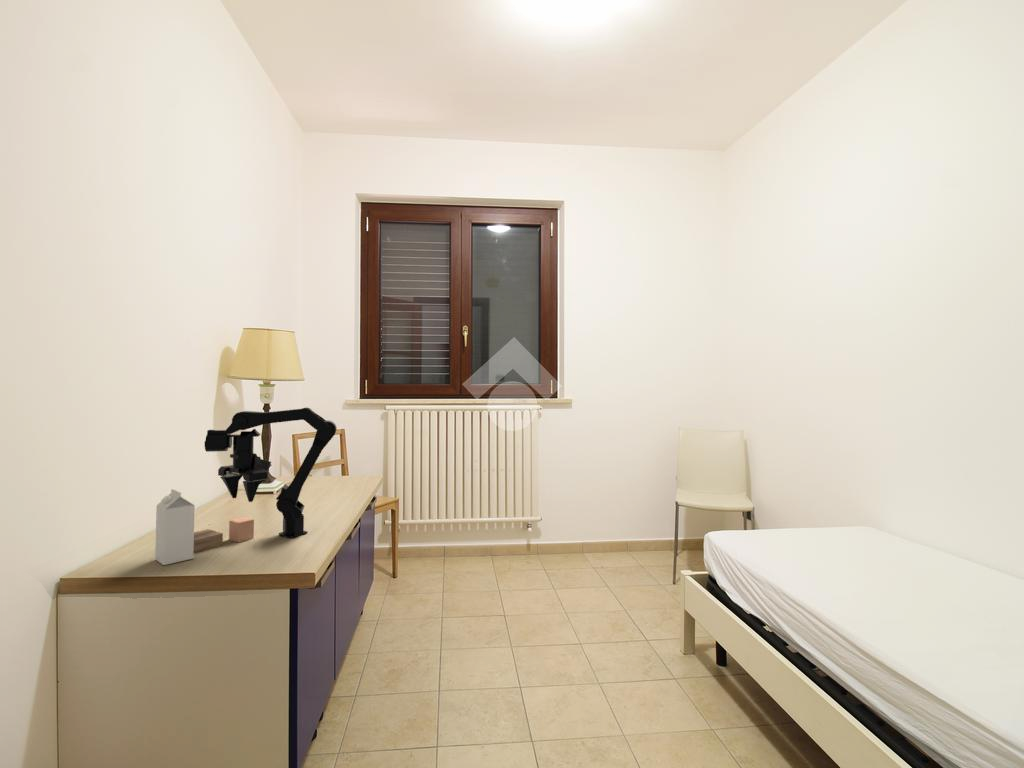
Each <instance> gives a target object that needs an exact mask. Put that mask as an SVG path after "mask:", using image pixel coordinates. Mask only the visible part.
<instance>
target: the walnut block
mask: <svg viewBox="0 0 1024 768" xmlns="http://www.w3.org/2000/svg"><path fill="white" fill-rule="evenodd" d="M223 533H224V532H220V531H216V530H212V529H209V528H207V529H202V530H199V531H194V549H193V554H196V553H200V552H204V551H207V549H208V550H211V548H212V549H215V548H218V546H219V547H222V546H221V545H223V542H224V541H223V540H224V539H223V537H224V534H223ZM214 547H215V548H214Z"/></svg>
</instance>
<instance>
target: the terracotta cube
mask: <svg viewBox="0 0 1024 768" xmlns="http://www.w3.org/2000/svg"><path fill="white" fill-rule="evenodd" d="M228 525H229V526H228V528H229V529H228V540H229V539H231V540H230V541H232V540H234V541H233V542H236V541H238V542H237V543H240V542H239V541H241V542H244V541H243V540H245V541H249V540H252V538H253V539H255V538H254V536H255V535H254V533H255V531H254V530H255V519H254V518H250V517H247V516H244V517H240V518H234V519H229V521H228ZM248 539H249V540H248Z"/></svg>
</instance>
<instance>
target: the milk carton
mask: <svg viewBox="0 0 1024 768" xmlns="http://www.w3.org/2000/svg"><path fill="white" fill-rule="evenodd" d="M170 492H171V493H169V494H168V495H165V496H164V497H163V498H161V501H160V502H158V503H157V504H156V508H155V509H156V515H155V517H156V519H155V549H154V550H155V551H154V552H155V553H154V555H155V556H154V560H156V561H157V562H159V563H160V564H161V565H162V566H166V565H167V566H168V565H170V564H176V563H179V562H183V561H188V560H192V559H194V553H193V549H194V532H195V507H196V506H195V504H194V503H192V502H191V501H188V500H187V499H186V498H184V497H183V496H182V492H180V491H178V490H177V489H174V488H171V490H170Z"/></svg>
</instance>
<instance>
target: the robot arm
mask: <svg viewBox="0 0 1024 768" xmlns="http://www.w3.org/2000/svg"><path fill="white" fill-rule="evenodd" d="M302 420H303V421H305V422H306V423H307V424H308V425H310V427H312V428H313V429H314V430H316V431H315V432H316V433H315V436H314V437H313V442H312V444H311V447H310V448H309V451H308V453H307V454H306V455H305V458H304V459H303V461H302V463H301V465H300V466H299V468H298V470H297V472H296V474H295V476H294V478H293V480H292V481H291V483H290V484H289V485H287V484H284V485H283V486H282V488H281V491H280V493H279V494H278V495H277V497H276V498H275V500H277V501H276V504H275V505H276V509H277V510H278V512H279V513H281V514H282V517H283V518H282V531H281V532H279V533H278V535H279V536H282V537H287V538H289V539H290V538H294V537H299V536H302V535H305V534H306V535H307V534H308V533H309V531H307V530H305V529H304V526H305V523H304V522H305V515H304V514H303V511H304V509H305V505H304V504H303V503H302V502H301V501H300V500H299V498H300V496H301V492H302V490H303V486H304V484H305V482H306V481H307V479H308V477H309V476H310V473H311V471H312V469H313V468H314V466H315V464H316V463H317V460H318V458H319V457H320V455H321V453H322V452H323V449H324V448H325V447H326V446H327V445H328V444H329V442H330V441H331V440H332V439H333V438H334V437H335V434H336V433H337V425H336V423H335V422H334V421H333V420H326V419H325V418H323V417H322V416H321V415H319V414H317V413H316V412H315V411H314V410H313V409H311V408H310V407H303V408H294V409H284V410H275V411H267V412H265V411H251V410H244V411H238V412H237V413H235V414H234V415H233V416H232V419H231V423H230V425H228V427H226V429H219V430H218V429H217V430H216V429H208V430H207V431H206V432H207V433H206V436H205V440H204V450H205V452H207V453H208V452H212V453H214V452H227V451H228V450H229V449H231V448H232V453H230V454H229V457H230V459H232V464H229V465H224V466H220V467H219V468H218V470H217V473H218V474H217V476H220V479H221V480H222V482H223V484H224V485H225V486H226V488H227V490H228V492H229V494H230V496H231V498H232V499H237V497H238V490H239V482H240V480H241V479H242V478H243V481H242V484H243V487H244V491H245V495H246V497H247V501H248V502H249V503H252V502H253V501H254V499H255V496H256V494H257V491H258V489H259V486H260V485H261V484H262V483H263V482H265V481H266V480H268V479H269V470H270V467H271V464H272V461H270V460H266V459H262V458H261V456H258V455H257V453H256V452H255V453H254V437H256V438H257V437H260V436H261V432H258V430H257V429H256V427H258V426H263V425H267V424H268V425H269V424H274V423H275V424H276V423H285V422H286V423H287V422H292V421H293V422H294V421H302ZM248 429H252V430H248ZM238 431H240V434H234V433H237V432H238Z"/></svg>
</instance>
